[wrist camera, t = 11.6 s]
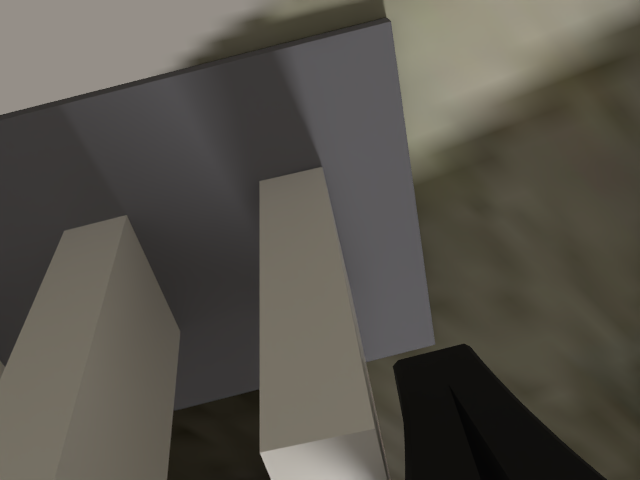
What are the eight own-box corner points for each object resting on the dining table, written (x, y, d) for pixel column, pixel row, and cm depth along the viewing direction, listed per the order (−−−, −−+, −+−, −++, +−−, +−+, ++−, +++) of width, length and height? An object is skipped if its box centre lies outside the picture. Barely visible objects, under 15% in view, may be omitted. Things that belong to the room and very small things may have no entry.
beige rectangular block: (296, 301, 17) (319, 594, 10) (259, 181, 15) (259, 452, 8) (350, 290, 17) (410, 576, 10) (322, 166, 15) (375, 428, 8)
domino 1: (125, 345, 17) (62, 661, 10) (64, 230, 15) (-69, 536, 8) (180, 331, 17) (152, 637, 10) (126, 214, 15) (47, 507, 8)
